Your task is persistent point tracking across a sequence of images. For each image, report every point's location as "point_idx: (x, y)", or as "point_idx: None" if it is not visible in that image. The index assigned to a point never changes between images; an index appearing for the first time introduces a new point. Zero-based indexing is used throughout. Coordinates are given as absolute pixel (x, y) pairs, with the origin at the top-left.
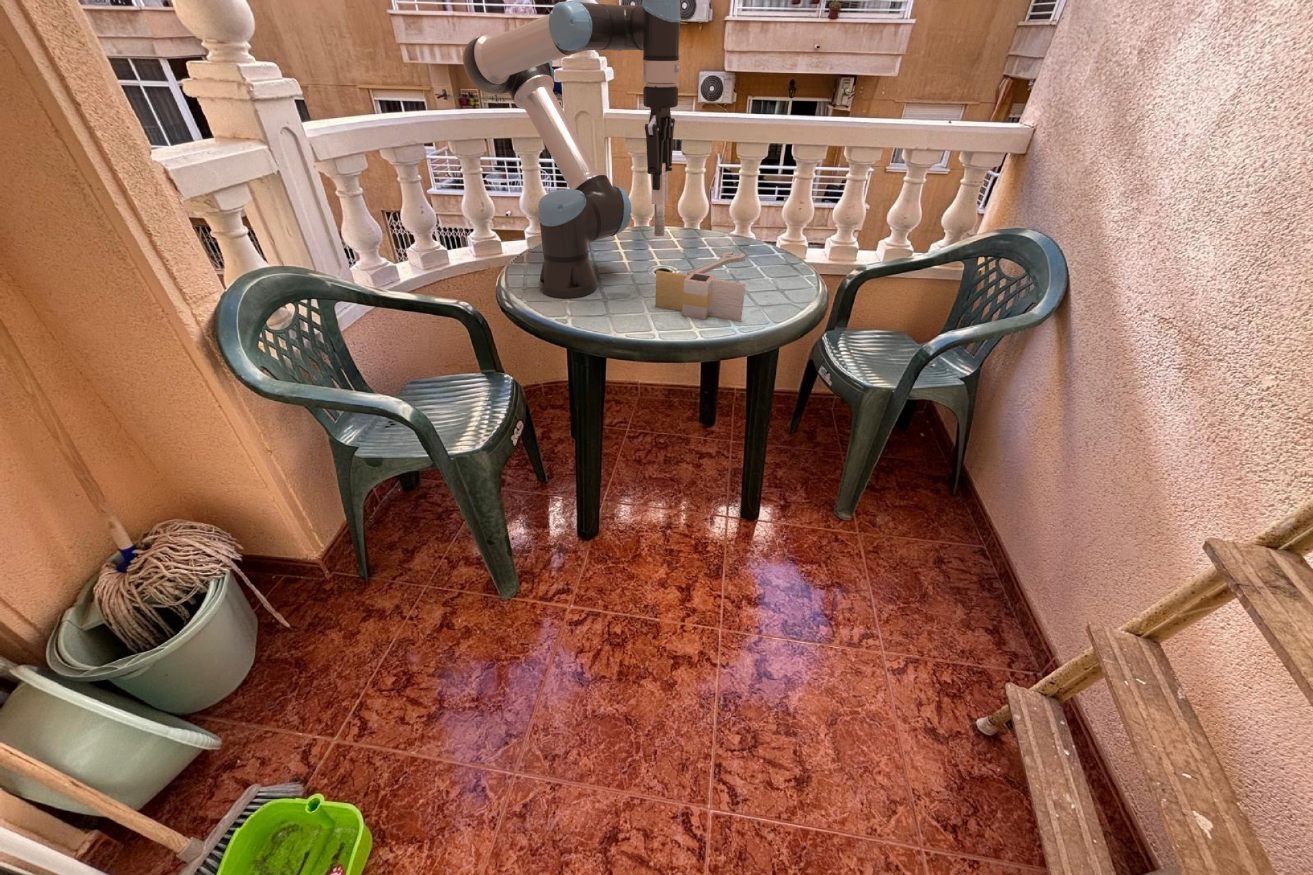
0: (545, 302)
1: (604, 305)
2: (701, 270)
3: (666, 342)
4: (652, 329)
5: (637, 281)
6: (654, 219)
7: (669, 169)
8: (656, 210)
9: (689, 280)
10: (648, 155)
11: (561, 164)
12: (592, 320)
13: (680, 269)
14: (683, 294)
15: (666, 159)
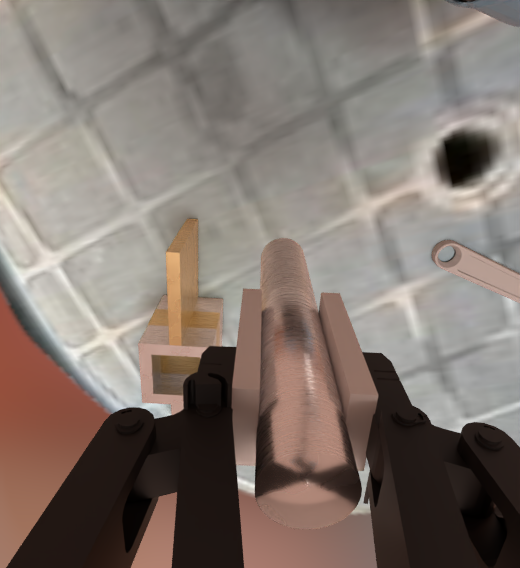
0: None
1: (132, 68)
2: (472, 278)
3: (18, 297)
4: (60, 251)
5: (358, 101)
6: (273, 264)
7: (367, 493)
8: (262, 295)
9: (142, 356)
10: (29, 554)
11: None
12: (21, 77)
13: (497, 206)
14: (149, 322)
15: (378, 548)
